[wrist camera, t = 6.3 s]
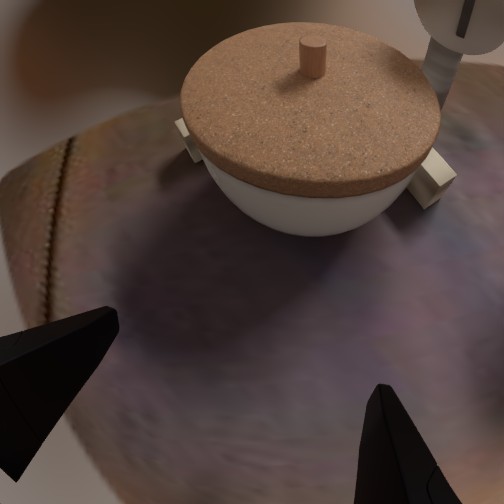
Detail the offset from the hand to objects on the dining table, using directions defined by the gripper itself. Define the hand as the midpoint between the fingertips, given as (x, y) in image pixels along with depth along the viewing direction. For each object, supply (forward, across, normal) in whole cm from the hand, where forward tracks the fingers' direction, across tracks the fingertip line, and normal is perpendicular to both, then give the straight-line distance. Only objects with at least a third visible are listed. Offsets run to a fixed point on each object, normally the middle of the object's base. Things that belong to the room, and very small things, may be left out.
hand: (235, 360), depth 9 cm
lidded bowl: (+15, 0, -3) cm, 15 cm away
